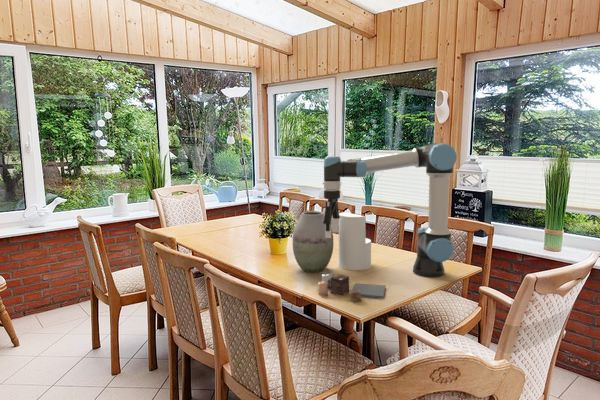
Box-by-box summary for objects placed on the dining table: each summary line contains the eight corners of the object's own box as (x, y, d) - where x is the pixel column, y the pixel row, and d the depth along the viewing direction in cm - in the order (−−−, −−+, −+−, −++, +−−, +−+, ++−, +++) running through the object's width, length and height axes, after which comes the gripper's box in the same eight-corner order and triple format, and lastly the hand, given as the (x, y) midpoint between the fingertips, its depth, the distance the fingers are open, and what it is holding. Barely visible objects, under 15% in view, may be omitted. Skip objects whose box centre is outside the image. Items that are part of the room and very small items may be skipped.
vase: (299, 262, 235) (298, 209, 231) (337, 265, 228) (337, 210, 224) (287, 273, 214) (286, 215, 210) (328, 277, 208) (328, 217, 204)
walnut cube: (359, 298, 179) (359, 289, 179) (360, 302, 175) (361, 292, 175) (350, 298, 180) (350, 289, 179) (351, 302, 176) (351, 292, 175)
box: (338, 289, 191) (338, 273, 190) (349, 292, 187) (349, 276, 186) (330, 293, 186) (330, 277, 185) (341, 296, 182) (341, 279, 181)
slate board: (385, 287, 192) (385, 285, 191) (383, 298, 178) (383, 296, 178) (354, 285, 195) (354, 283, 195) (350, 296, 182) (350, 293, 182)
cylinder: (352, 272, 215) (352, 218, 212) (332, 264, 230) (331, 213, 226) (377, 266, 225) (378, 214, 221) (356, 259, 239) (357, 210, 235)
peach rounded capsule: (328, 292, 187) (328, 281, 186) (326, 295, 183) (326, 284, 182) (319, 291, 188) (319, 281, 187) (317, 295, 184) (317, 283, 183)
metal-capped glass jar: (333, 285, 196) (333, 273, 195) (331, 289, 191) (331, 276, 190) (323, 284, 197) (323, 272, 196) (320, 288, 192) (320, 275, 191)
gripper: (330, 187, 209) (330, 229, 211) (316, 192, 185) (316, 240, 188) (345, 187, 206) (345, 230, 209) (333, 193, 183) (333, 241, 186)
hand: (331, 234), depth 199 cm, fingers open, 13 cm apart
